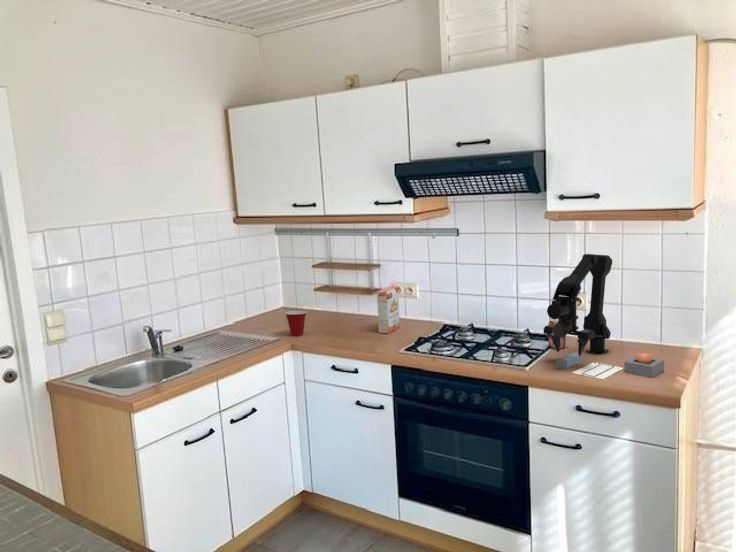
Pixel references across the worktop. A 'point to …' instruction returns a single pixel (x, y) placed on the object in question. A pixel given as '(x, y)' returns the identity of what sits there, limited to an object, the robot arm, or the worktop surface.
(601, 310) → the robot arm
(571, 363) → the rectangular block
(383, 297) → the cracker box
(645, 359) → the button
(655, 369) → the button housing
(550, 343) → the soda can
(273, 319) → the worktop surface
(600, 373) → the paper sheet
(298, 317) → the plastic cup
